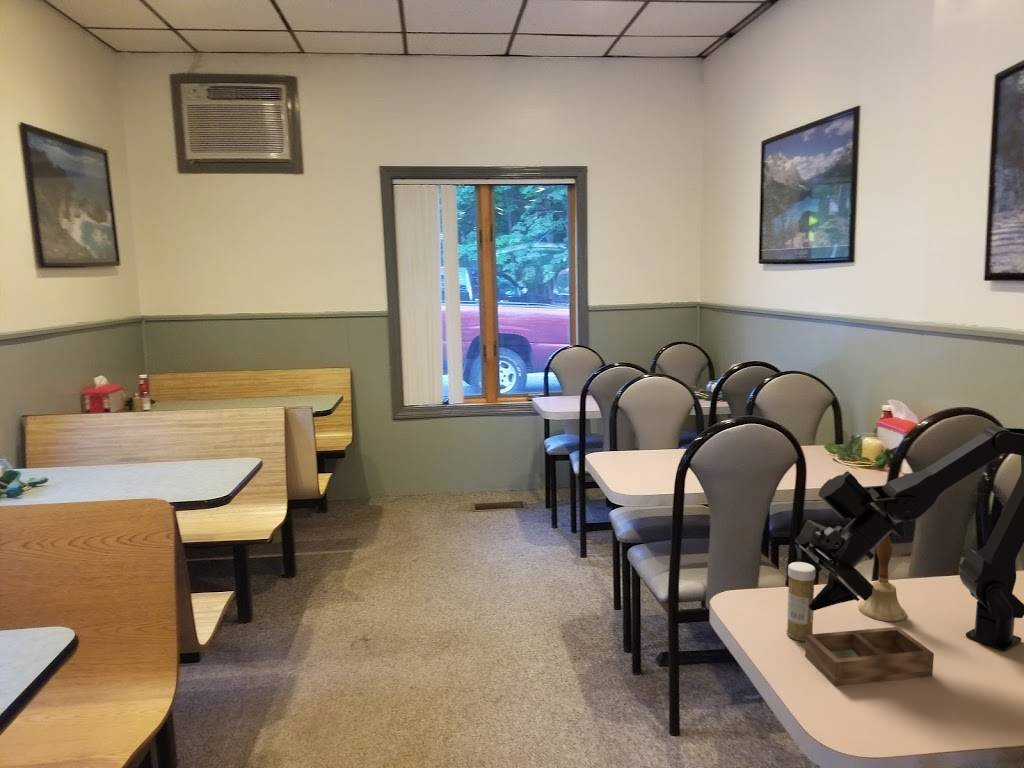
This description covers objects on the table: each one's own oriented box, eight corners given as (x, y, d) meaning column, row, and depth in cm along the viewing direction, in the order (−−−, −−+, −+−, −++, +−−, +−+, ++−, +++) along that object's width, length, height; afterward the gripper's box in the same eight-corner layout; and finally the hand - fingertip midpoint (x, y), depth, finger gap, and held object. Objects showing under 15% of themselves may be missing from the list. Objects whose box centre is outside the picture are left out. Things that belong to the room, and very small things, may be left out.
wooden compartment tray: (896, 648, 125) (898, 626, 125) (932, 676, 116) (934, 653, 116) (805, 656, 123) (806, 634, 123) (834, 685, 115) (835, 662, 114)
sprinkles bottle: (818, 637, 130) (821, 567, 128) (802, 644, 127) (805, 573, 125) (795, 627, 133) (798, 558, 131) (780, 634, 131) (783, 565, 129)
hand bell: (859, 617, 136) (863, 538, 134) (857, 599, 144) (861, 523, 142) (908, 625, 133) (914, 543, 131) (903, 605, 141) (908, 528, 138)
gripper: (806, 491, 136) (748, 548, 137) (860, 525, 118) (792, 591, 119) (844, 529, 138) (786, 585, 139) (903, 568, 119) (835, 633, 120)
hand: (798, 597), depth 129 cm, fingers open, 9 cm apart
